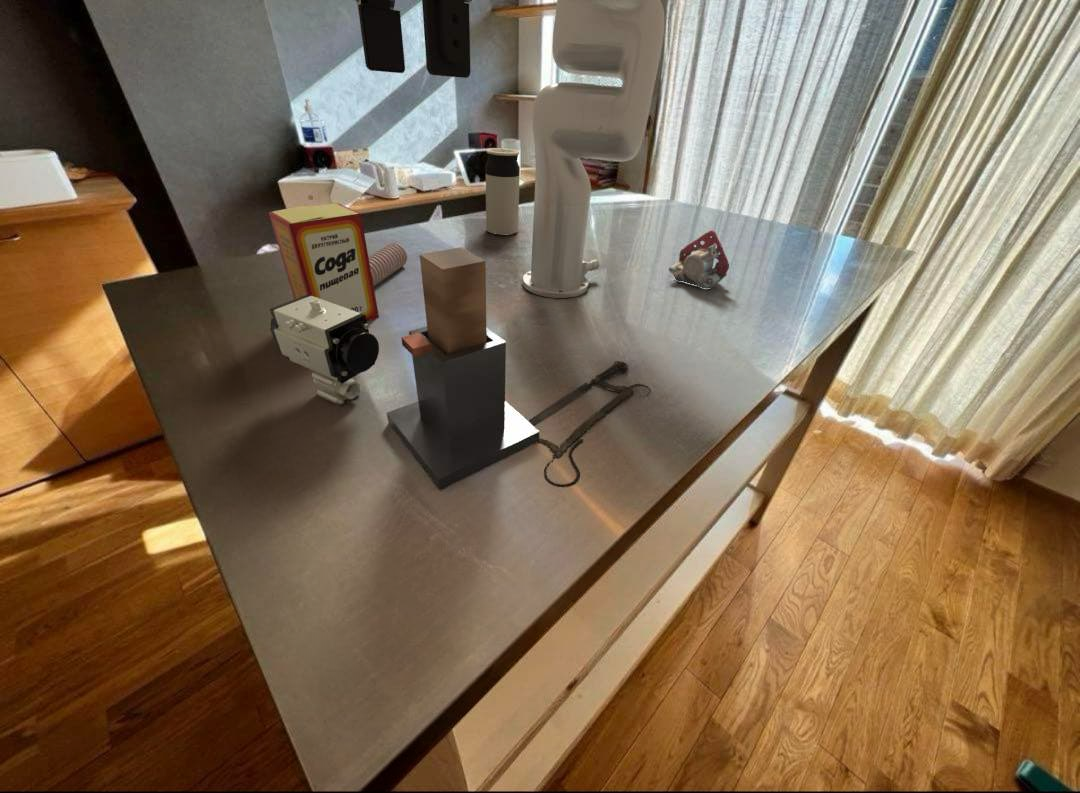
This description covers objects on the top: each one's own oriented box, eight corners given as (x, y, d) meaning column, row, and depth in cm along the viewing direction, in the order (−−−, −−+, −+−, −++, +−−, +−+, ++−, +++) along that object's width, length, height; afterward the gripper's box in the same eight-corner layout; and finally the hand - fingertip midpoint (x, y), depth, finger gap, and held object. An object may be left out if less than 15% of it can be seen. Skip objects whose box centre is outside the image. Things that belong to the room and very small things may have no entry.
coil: (359, 276, 71) (409, 244, 85) (332, 269, 71) (387, 239, 85) (361, 302, 74) (410, 267, 88) (336, 295, 74) (388, 261, 88)
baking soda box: (358, 303, 72) (337, 200, 63) (379, 317, 69) (360, 210, 59) (300, 319, 66) (267, 209, 57) (319, 335, 63) (287, 220, 54)
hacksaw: (618, 365, 62) (619, 356, 61) (682, 396, 57) (685, 387, 56) (492, 443, 47) (492, 432, 46) (563, 496, 42) (564, 485, 41)
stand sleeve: (480, 388, 55) (477, 293, 47) (538, 441, 47) (546, 338, 40) (388, 423, 48) (368, 319, 41) (439, 490, 41) (427, 379, 34)
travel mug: (516, 237, 107) (519, 154, 96) (484, 235, 107) (483, 151, 96) (518, 228, 113) (521, 149, 102) (488, 226, 113) (487, 147, 102)
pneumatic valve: (322, 371, 56) (296, 281, 49) (390, 401, 52) (373, 308, 45) (283, 392, 52) (249, 298, 45) (354, 426, 48) (329, 329, 41)
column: (468, 402, 49) (461, 246, 39) (489, 421, 47) (487, 261, 36) (435, 415, 47) (417, 254, 37) (454, 436, 44) (441, 269, 34)
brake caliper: (739, 273, 89) (739, 233, 79) (711, 312, 88) (707, 276, 78) (692, 258, 95) (686, 219, 85) (665, 295, 93) (657, 260, 84)
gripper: (260, -289, 26) (323, 66, 36) (390, -501, 16) (428, 74, 26) (379, -230, 30) (406, 73, 40) (541, -368, 20) (524, 82, 30)
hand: (415, 73), depth 33 cm, fingers open, 9 cm apart
